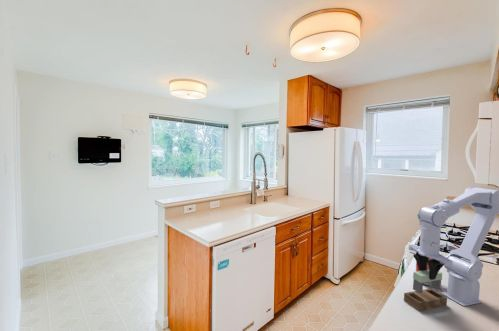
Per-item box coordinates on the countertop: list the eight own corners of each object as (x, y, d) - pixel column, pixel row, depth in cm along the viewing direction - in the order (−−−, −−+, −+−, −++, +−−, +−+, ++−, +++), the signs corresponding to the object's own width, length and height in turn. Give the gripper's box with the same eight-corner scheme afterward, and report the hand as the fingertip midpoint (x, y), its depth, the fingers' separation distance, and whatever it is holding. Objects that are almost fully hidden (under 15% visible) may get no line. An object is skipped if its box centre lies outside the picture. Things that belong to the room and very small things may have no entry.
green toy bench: (432, 285, 89) (434, 268, 89) (441, 289, 87) (442, 272, 86) (412, 288, 87) (413, 271, 86) (420, 293, 84) (421, 276, 84)
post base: (430, 295, 92) (430, 288, 92) (446, 305, 86) (447, 297, 86) (403, 300, 88) (404, 293, 88) (418, 311, 83) (419, 303, 83)
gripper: (403, 234, 91) (401, 268, 92) (442, 249, 78) (439, 289, 78) (417, 233, 93) (415, 266, 94) (458, 247, 79) (455, 286, 80)
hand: (427, 276), depth 86 cm, fingers closed on green toy bench, 3 cm apart
